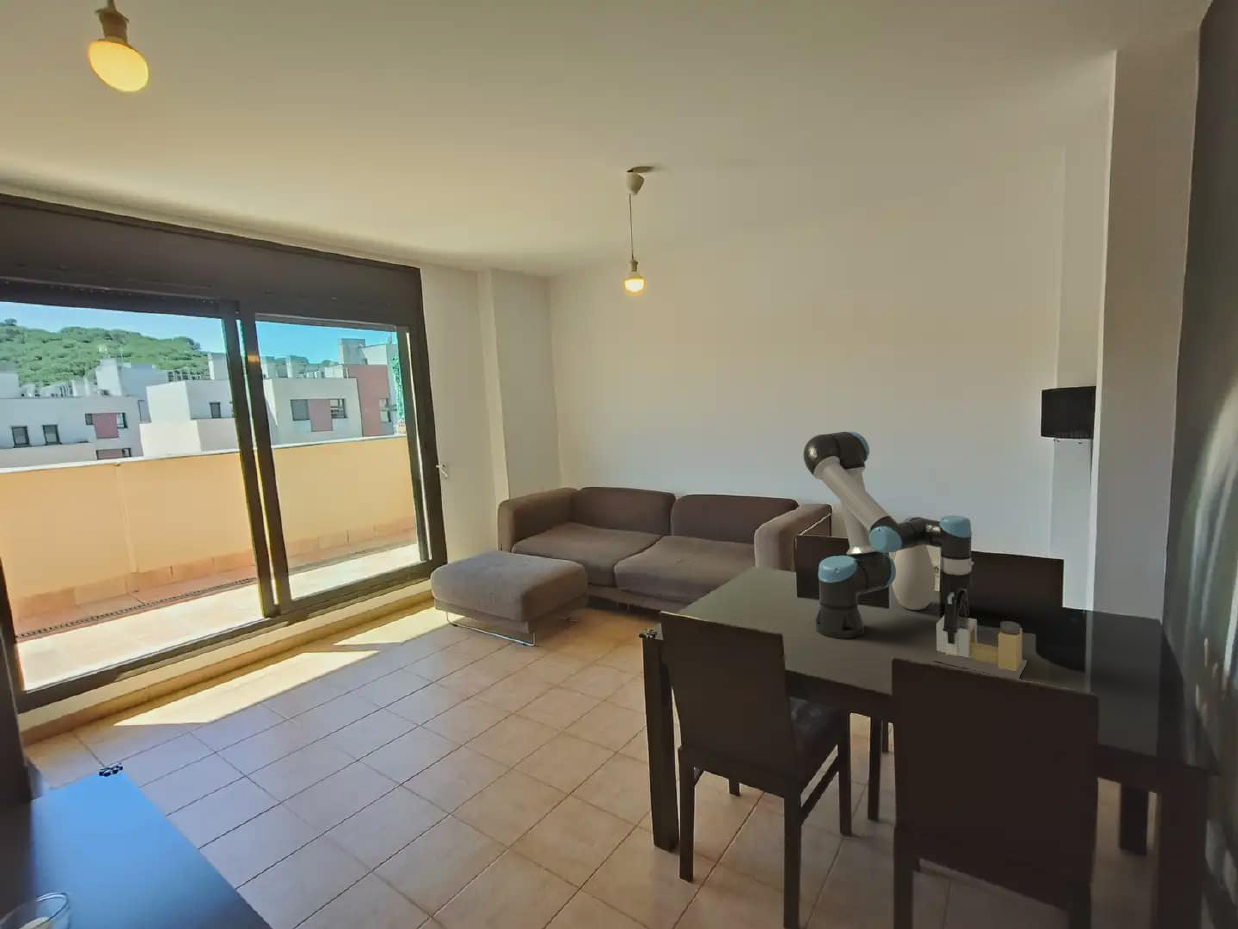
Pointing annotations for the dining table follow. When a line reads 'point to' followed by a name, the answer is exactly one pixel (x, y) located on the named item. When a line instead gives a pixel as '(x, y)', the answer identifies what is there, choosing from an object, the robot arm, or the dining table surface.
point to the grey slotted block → (965, 635)
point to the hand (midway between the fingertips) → (957, 647)
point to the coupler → (1001, 648)
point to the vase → (914, 577)
